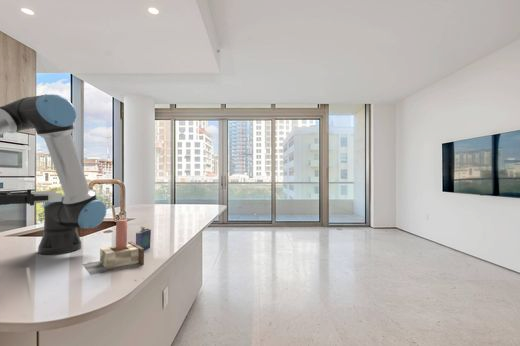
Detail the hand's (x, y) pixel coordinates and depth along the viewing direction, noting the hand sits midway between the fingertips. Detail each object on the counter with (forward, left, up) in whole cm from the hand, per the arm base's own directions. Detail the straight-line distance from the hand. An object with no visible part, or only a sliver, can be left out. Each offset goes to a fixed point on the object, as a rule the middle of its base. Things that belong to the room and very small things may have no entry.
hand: (58, 195), depth 89 cm
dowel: (+6, +18, -23) cm, 30 cm away
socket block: (+6, +17, -24) cm, 31 cm away
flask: (-8, +30, -26) cm, 41 cm away
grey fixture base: (+6, +16, -25) cm, 30 cm away
